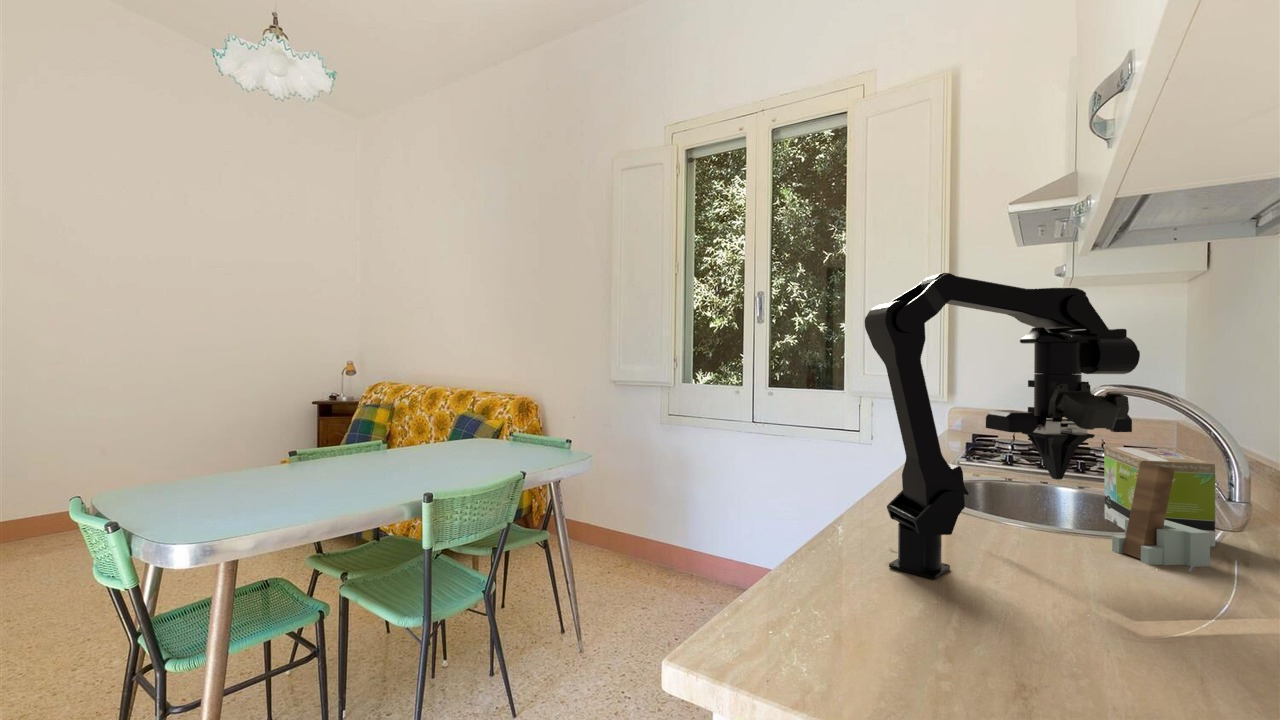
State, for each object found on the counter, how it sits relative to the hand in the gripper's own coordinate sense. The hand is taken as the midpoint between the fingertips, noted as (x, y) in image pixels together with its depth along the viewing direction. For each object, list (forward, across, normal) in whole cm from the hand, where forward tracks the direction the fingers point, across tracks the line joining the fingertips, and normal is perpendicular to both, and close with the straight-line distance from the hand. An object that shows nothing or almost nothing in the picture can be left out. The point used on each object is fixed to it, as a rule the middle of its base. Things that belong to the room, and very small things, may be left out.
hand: (1056, 479), depth 86 cm
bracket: (+13, +15, 0) cm, 20 cm away
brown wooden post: (+12, +13, 0) cm, 17 cm away
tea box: (+13, +28, +13) cm, 34 cm away
